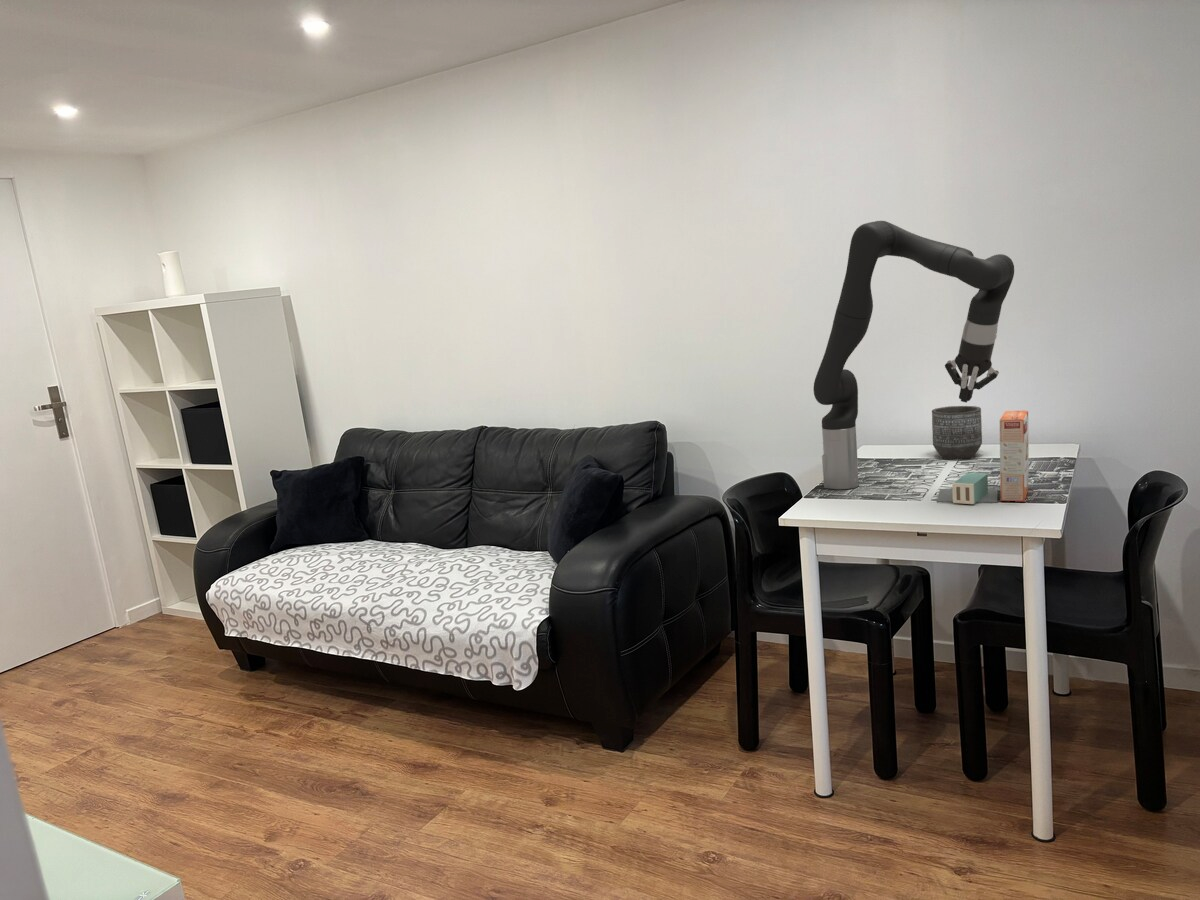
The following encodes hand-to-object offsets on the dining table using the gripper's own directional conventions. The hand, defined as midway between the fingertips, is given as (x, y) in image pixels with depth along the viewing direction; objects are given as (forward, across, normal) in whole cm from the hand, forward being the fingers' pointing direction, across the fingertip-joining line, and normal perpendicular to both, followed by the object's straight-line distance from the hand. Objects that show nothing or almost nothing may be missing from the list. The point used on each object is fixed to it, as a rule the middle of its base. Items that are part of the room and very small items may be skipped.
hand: (964, 400), depth 220 cm
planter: (+39, -5, +41) cm, 57 cm away
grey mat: (+23, +7, -6) cm, 25 cm away
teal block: (+18, +6, -14) cm, 24 cm away
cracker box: (+21, +17, -3) cm, 28 cm away
